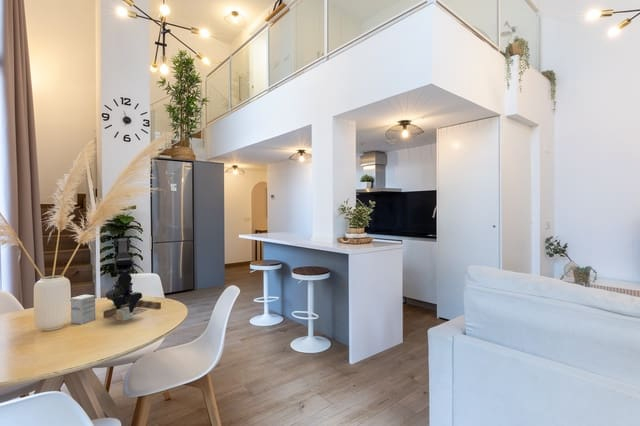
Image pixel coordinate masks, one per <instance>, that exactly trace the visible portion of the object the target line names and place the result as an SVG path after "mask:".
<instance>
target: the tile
mask: <svg viewBox="0 0 640 426" xmlns="http://www.w3.org/2000/svg"><path fill="white" fill-rule="evenodd" d="M148 310H149V308H148V309H147V308H142V307H141V308H140V307H138V308H135V309H134V310H133V315H137V313H138V314H141V313H143V312H146V311H148ZM140 312H141V313H140Z"/></svg>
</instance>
